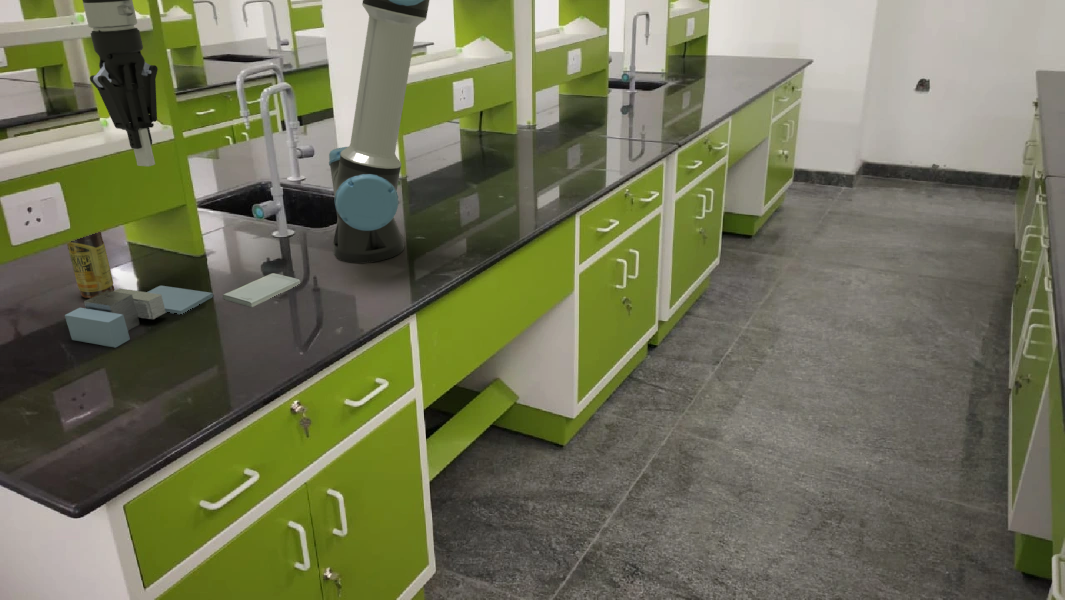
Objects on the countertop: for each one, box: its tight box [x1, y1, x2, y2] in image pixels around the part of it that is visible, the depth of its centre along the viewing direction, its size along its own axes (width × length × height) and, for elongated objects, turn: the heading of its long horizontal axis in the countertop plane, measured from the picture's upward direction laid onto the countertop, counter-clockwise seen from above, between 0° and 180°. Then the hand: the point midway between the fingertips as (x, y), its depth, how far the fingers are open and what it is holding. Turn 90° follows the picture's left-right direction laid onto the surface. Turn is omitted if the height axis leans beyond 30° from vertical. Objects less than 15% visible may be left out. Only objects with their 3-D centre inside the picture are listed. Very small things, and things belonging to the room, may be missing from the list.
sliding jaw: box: [113, 288, 167, 320], centre depth 148 cm, size 14×3×4 cm, turn 69°
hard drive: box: [222, 272, 301, 308], centre depth 159 cm, size 2×8×12 cm
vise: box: [64, 284, 214, 348], centre depth 149 cm, size 13×23×5 cm, turn 159°
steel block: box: [83, 290, 140, 332], centre depth 145 cm, size 6×5×6 cm
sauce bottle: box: [66, 231, 115, 299], centre depth 156 cm, size 7×6×20 cm
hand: (146, 164), depth 146 cm, fingers closed
